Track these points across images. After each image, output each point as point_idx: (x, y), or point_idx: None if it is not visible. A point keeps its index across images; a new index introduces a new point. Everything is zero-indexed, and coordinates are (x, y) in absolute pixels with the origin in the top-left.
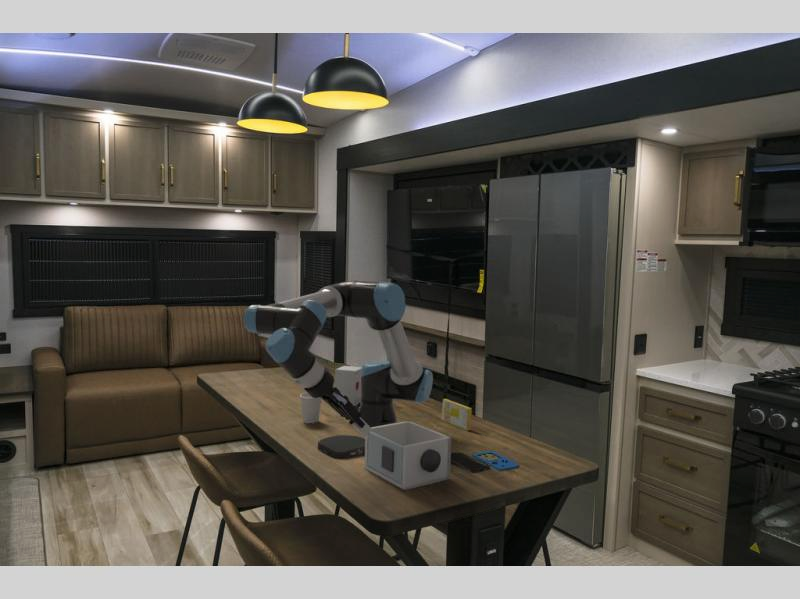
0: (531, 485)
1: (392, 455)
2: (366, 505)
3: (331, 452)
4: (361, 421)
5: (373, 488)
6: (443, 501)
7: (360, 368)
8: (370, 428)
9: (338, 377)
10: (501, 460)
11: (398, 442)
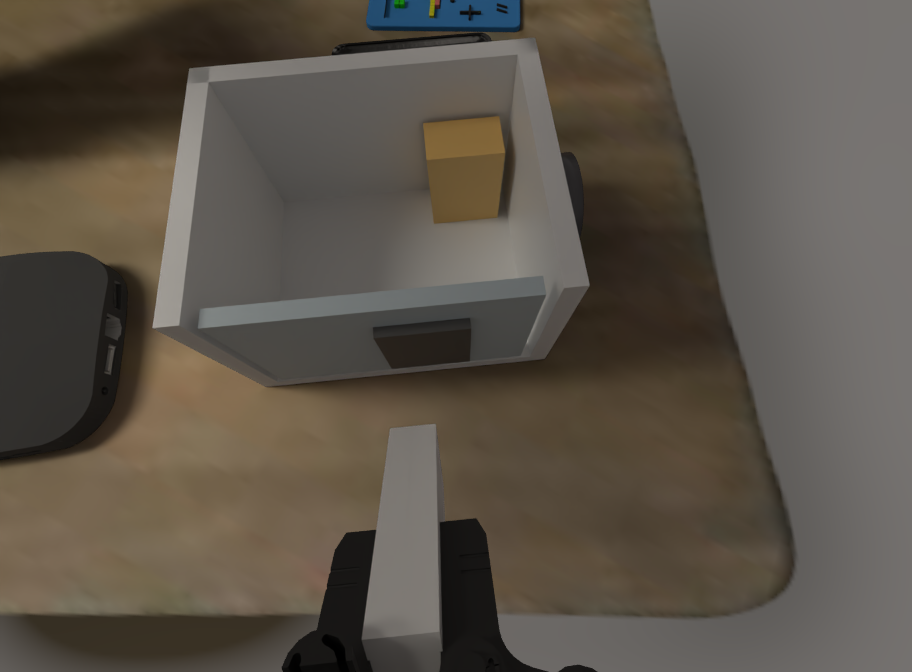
0: (653, 24)
1: (470, 334)
2: (623, 573)
3: (38, 448)
4: (491, 585)
5: (474, 458)
6: (682, 291)
7: None
8: (436, 439)
9: None
10: None
11: (251, 197)
